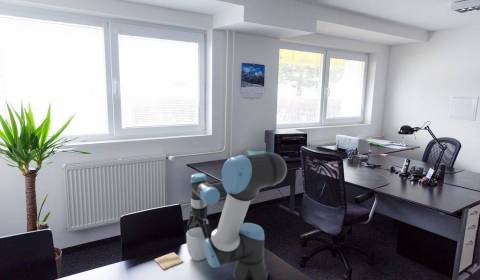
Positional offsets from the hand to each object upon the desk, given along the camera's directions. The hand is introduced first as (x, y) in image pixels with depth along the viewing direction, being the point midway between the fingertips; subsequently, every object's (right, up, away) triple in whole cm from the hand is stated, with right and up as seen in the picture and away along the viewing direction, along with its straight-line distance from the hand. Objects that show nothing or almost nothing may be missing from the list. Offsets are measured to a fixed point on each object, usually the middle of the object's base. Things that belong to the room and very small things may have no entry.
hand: (200, 246), depth 147 cm
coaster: (-14, -6, -4) cm, 16 cm away
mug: (0, -5, +1) cm, 5 cm away
